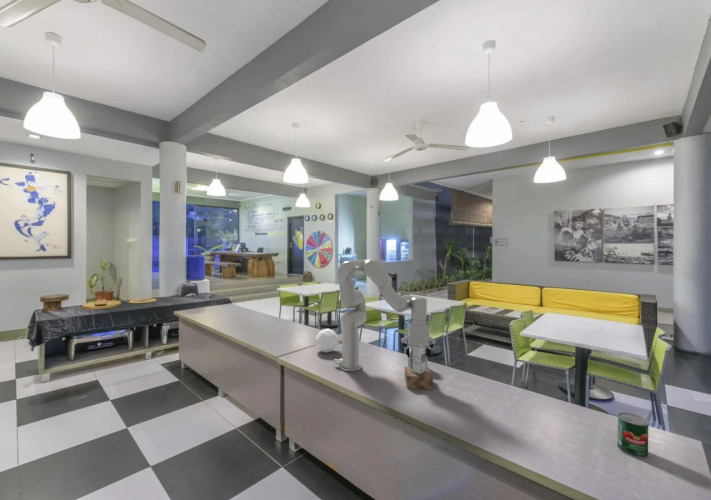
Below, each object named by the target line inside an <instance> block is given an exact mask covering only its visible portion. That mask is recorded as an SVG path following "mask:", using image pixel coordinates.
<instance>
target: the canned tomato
mask: <svg viewBox="0 0 711 500" xmlns="http://www.w3.org/2000/svg"><path fill="white" fill-rule="evenodd" d="M649 425H650V422H649V420H647V419H646V418H644V417H643V416H640V415H638V414H633V413H631V412H623V411H622V412H618V413H617V444H616V445H617V448H618V450H620V451H621V452H622V453H624V454H625V455H628V456H631V457H632V458H633V457H634V458H637V459H646V458H648V457H649Z"/></svg>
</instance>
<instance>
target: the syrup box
mask: <svg viewBox="0 0 711 500" xmlns="http://www.w3.org/2000/svg"><path fill="white" fill-rule="evenodd" d="M410 349H411V372H414V373H418V374H422V373H424V372H425V371H426V359H427V360H428V357H427V346H423V345H419V344H418V346H410Z"/></svg>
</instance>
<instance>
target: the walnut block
mask: <svg viewBox="0 0 711 500" xmlns="http://www.w3.org/2000/svg"><path fill="white" fill-rule="evenodd" d="M433 379H434V377H433V374H432V373H431V370H430V368H429V367H428V366H427V367H426V371H425V372H424V373H422V374H418V373H414V372H411V367H408V366H404V380H405V381H404V382H405V385H406V389H409V390H433V385H434V381H433Z"/></svg>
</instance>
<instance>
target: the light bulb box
mask: <svg viewBox="0 0 711 500" xmlns="http://www.w3.org/2000/svg"><path fill="white" fill-rule="evenodd" d="M407 367H411V348H409V357H408V356H407ZM426 367H428V358H427V359H426Z"/></svg>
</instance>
